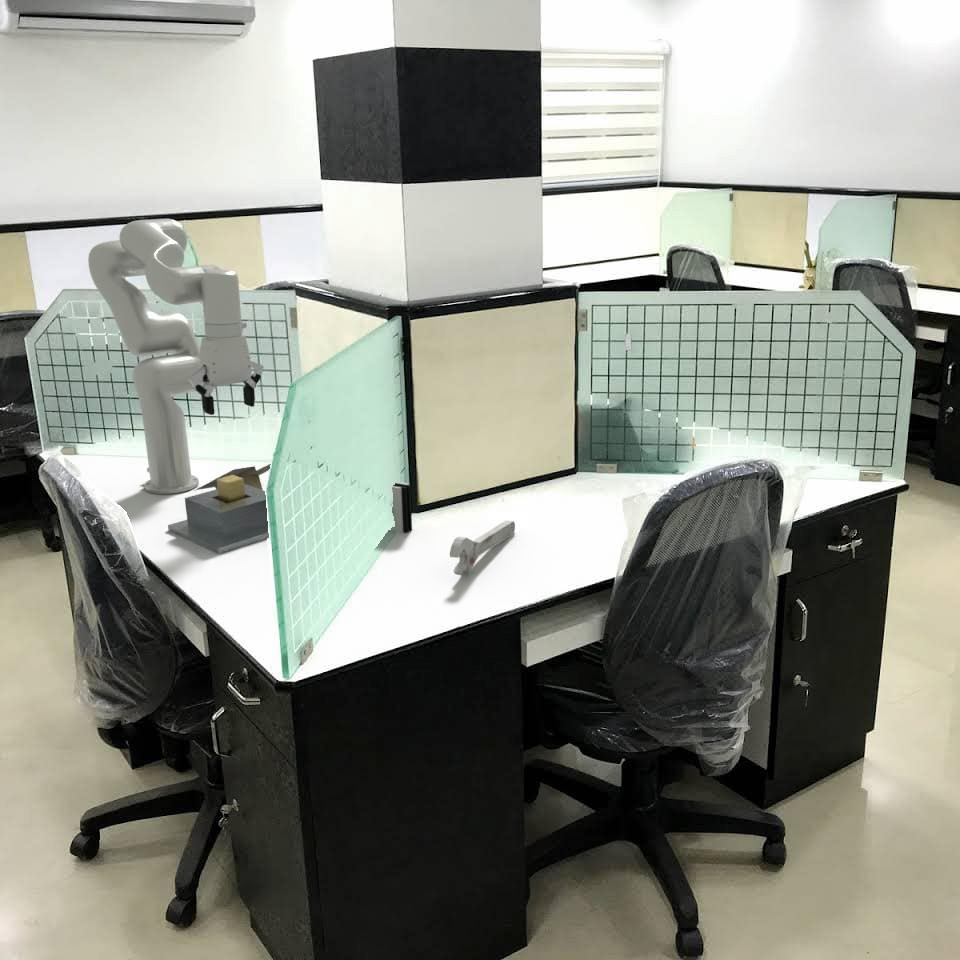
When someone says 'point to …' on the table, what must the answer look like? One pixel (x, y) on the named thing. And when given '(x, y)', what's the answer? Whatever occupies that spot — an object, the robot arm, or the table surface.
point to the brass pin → (230, 489)
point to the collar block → (224, 520)
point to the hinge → (401, 508)
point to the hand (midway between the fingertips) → (229, 409)
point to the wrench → (478, 546)
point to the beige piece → (246, 473)
